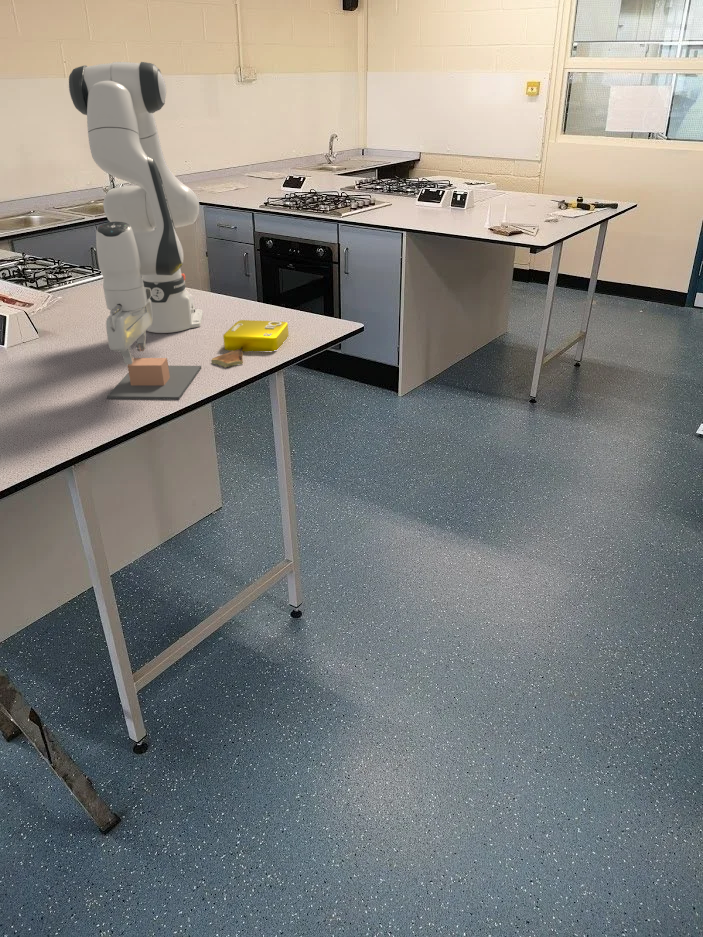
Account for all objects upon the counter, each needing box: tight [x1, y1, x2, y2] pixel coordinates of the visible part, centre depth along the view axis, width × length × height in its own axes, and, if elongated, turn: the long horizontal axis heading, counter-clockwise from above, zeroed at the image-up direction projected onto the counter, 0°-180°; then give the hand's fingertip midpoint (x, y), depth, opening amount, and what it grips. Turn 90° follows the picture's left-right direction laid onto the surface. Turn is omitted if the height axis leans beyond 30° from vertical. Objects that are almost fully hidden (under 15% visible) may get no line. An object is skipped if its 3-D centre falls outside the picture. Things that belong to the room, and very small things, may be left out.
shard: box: [211, 348, 244, 368], centre depth 187 cm, size 11×8×2 cm
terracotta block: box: [126, 357, 170, 385], centre depth 172 cm, size 5×5×8 cm
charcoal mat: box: [106, 365, 202, 400], centre depth 174 cm, size 20×17×1 cm
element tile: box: [222, 319, 290, 352], centre depth 198 cm, size 15×15×5 cm
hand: (135, 356), depth 170 cm, fingers open, 7 cm apart
